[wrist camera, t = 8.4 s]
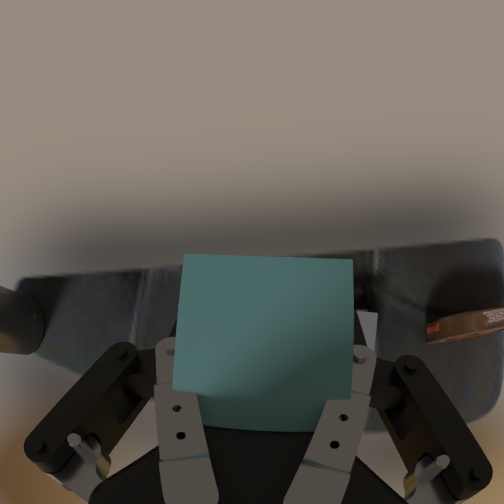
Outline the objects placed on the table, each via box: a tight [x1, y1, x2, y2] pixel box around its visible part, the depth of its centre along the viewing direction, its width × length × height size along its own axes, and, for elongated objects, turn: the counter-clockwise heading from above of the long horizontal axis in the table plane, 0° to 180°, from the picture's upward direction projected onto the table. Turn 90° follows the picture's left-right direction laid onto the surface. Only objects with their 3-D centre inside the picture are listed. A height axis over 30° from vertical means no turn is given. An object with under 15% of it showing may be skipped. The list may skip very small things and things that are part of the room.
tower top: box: [357, 311, 378, 351], centre depth 28 cm, size 6×6×4 cm
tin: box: [426, 306, 504, 344], centre depth 28 cm, size 15×3×8 cm, turn 89°
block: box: [172, 254, 354, 432], centre depth 13 cm, size 5×5×10 cm
